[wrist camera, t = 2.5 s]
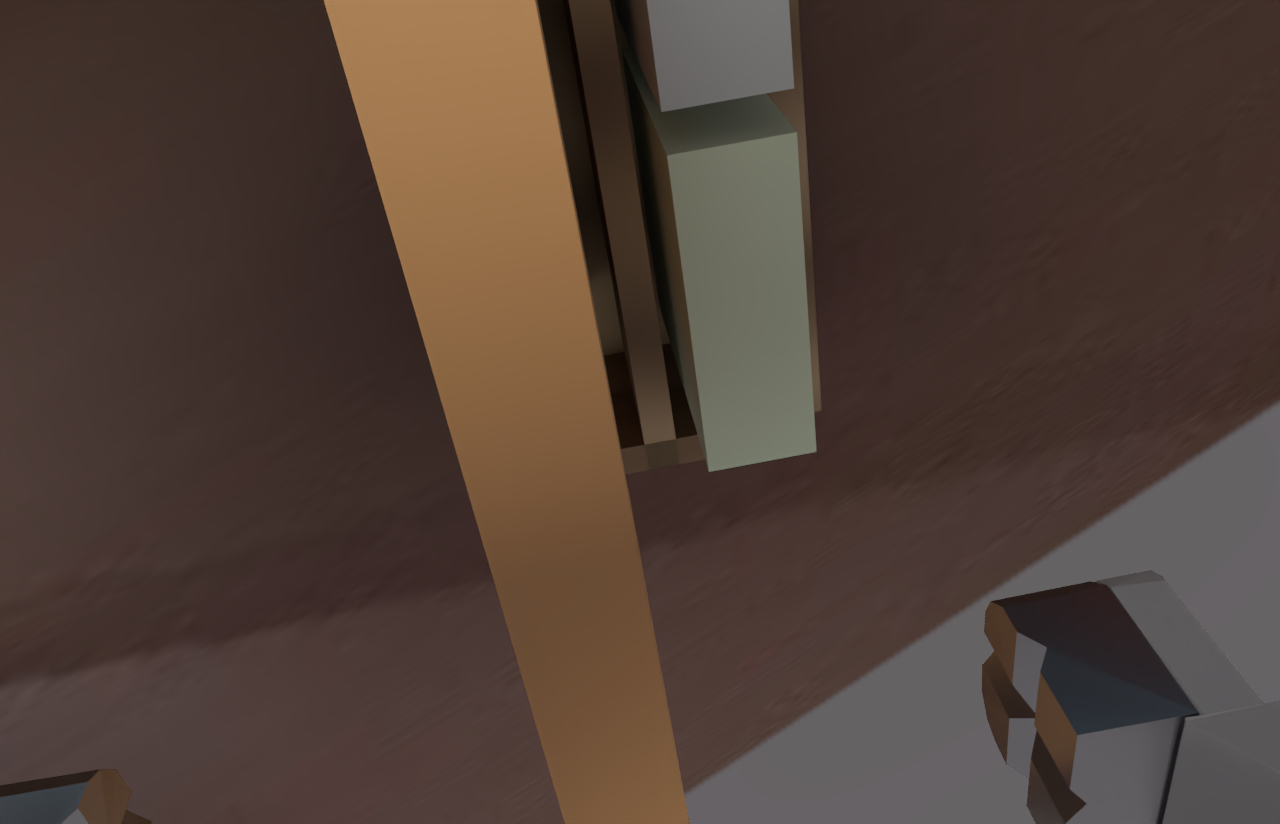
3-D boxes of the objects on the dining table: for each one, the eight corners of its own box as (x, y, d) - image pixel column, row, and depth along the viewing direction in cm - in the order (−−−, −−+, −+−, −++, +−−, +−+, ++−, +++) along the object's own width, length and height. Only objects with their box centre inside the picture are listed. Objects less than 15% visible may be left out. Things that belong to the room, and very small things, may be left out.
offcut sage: (743, 292, 37) (816, 451, 29) (659, 307, 37) (708, 472, 29) (717, 31, 32) (797, 132, 24) (621, 48, 32) (666, 155, 24)
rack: (779, 326, 40) (833, 435, 34) (506, 376, 40) (509, 496, 33) (715, -496, 27) (783, -570, 20) (306, -428, 26) (248, -482, 20)
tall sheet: (589, 281, 36) (692, 837, 18) (532, 291, 36) (575, 860, 18) (487, -267, 28) (480, -290, 9) (412, -254, 27) (250, -251, 9)
